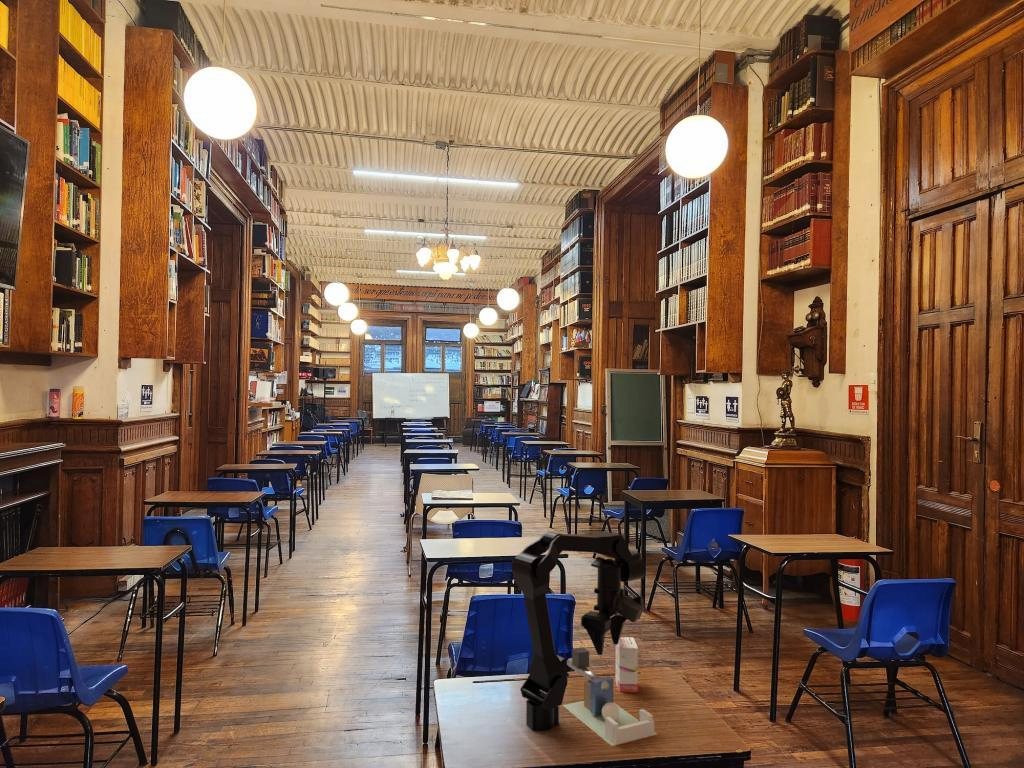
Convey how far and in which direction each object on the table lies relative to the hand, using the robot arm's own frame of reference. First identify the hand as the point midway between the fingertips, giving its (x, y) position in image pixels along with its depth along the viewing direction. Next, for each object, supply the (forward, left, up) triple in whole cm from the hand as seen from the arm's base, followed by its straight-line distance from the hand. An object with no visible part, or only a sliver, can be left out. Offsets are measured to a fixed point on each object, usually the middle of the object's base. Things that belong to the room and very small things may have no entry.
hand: (608, 649), depth 162 cm
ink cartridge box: (+9, +6, -13) cm, 17 cm away
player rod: (-6, +1, -12) cm, 13 cm away
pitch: (-6, -8, -13) cm, 17 cm away
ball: (-6, -9, -10) cm, 15 cm away
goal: (-6, -17, -12) cm, 21 cm away
